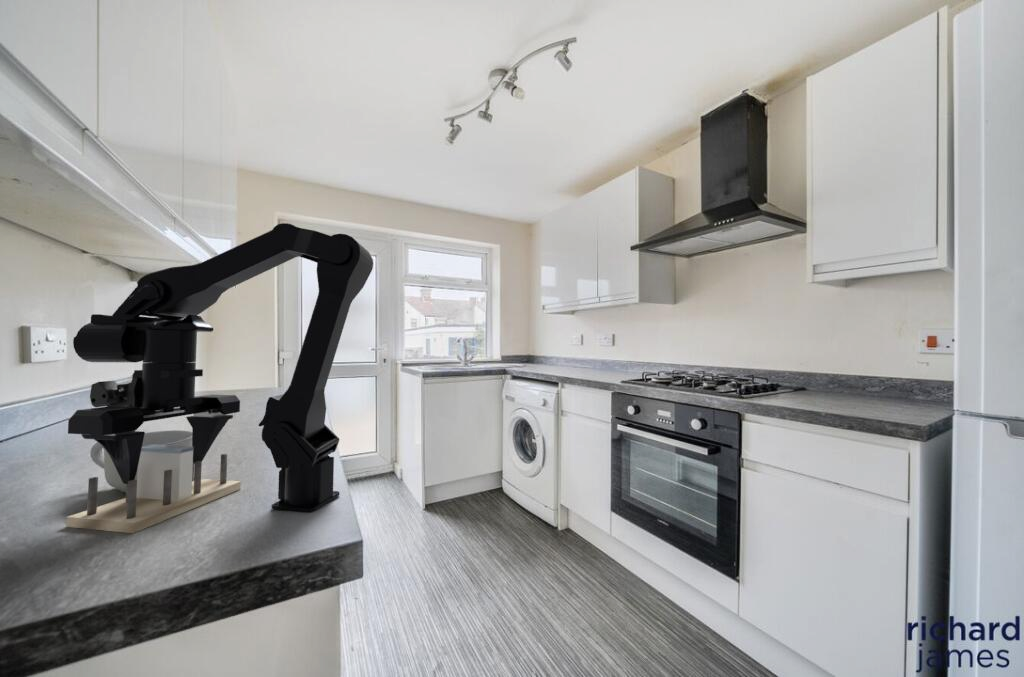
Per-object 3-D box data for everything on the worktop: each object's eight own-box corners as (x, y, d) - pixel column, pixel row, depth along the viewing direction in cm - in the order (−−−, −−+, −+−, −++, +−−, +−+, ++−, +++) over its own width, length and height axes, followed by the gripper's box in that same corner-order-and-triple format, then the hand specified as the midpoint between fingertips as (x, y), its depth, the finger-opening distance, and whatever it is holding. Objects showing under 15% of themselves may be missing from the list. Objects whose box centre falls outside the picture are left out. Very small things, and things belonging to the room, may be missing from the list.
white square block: (191, 496, 54) (193, 446, 54) (178, 501, 52) (180, 449, 53) (150, 492, 55) (152, 444, 56) (135, 497, 53) (138, 447, 54)
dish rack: (240, 489, 60) (241, 452, 61) (133, 533, 46) (135, 485, 46) (187, 485, 62) (188, 450, 62) (66, 526, 47) (68, 480, 47)
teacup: (210, 477, 66) (211, 430, 66) (143, 501, 55) (146, 445, 56) (138, 473, 68) (140, 428, 68) (60, 496, 57) (63, 443, 57)
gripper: (187, 361, 65) (183, 453, 64) (34, 364, 47) (27, 492, 46) (244, 361, 63) (241, 456, 63) (109, 365, 45) (103, 499, 44)
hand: (165, 472), depth 54 cm, fingers open, 9 cm apart
